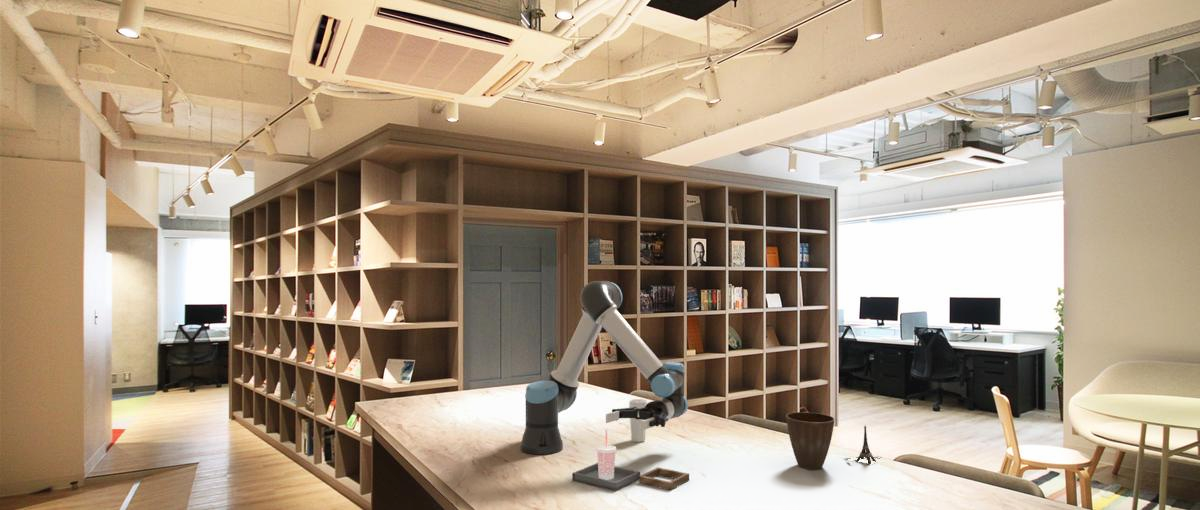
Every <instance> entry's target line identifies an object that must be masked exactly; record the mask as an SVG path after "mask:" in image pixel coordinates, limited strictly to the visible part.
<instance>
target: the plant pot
mask: <svg viewBox="0 0 1200 510" xmlns="http://www.w3.org/2000/svg"><path fill="white" fill-rule="evenodd" d="M785 418H786V423H787V424H786V425H787V431H788V435H789V436H788V437H789V441H790V444H791V448H792V451H793V455H794V458H795V461H796V463H797V465H798V467H799V468H802V469H806V470H811V471H812V470H813V471H814V470H815V471H816V470H821V469H822V468H823V466H824V463H825V461H826V459H827V456H828V453H829V450H830V446H831V441H832V438H833V437H832V436H833V431H834V427H835V426H834V424H835V418H834V416H831V415H828V414H824V413H818V412H809V411H807V412H806V411H803V412H802V411H798V412H797V411H795V412H789V413H787V414H785Z"/></svg>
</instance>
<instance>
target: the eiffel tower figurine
mask: <svg viewBox="0 0 1200 510" xmlns="http://www.w3.org/2000/svg"><path fill="white" fill-rule="evenodd" d="M863 429H864V432H863V445H862V448H861V451H860V452H859V456H855V457H856V458H858V459H857V460H856V462H855V463H858V461H859V460H860V458H861V459H866V460H868V464H871V460H872V461H875V462H876V461H877V460H881V459H880V458H883V457H881V456H873V454H872V452H871V450H870V448H869V447H870V446H869V444H868V438H867V437H868V436H867V426H866V425H864V426H863ZM864 457H865V458H864ZM870 457H871V458H870ZM878 457H880V458H878ZM845 458H846V459H845ZM845 458H844V459H845V460H844V461H846V460H848V459H851V458H847V457H845ZM876 458H877V460H876ZM876 463H877V462H876ZM868 464H867V465H868Z"/></svg>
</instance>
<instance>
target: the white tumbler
mask: <svg viewBox="0 0 1200 510" xmlns="http://www.w3.org/2000/svg"><path fill="white" fill-rule="evenodd" d="M628 401H629V403H628V405H629V407H628V408H632V407H637V408H644V407H645V406H646V405H647V404H648V401H647V399H642V398H633V399H630V400H628ZM638 417H639V413H638ZM642 421H643V419H635V418H629V424H630V434H631V435H630V436H631V437H630V438H631V441H632V442H633V443H634V442H635V443H642V442H645V441H646V433H647V432H646V431H647V429H645V430H641V423H642Z"/></svg>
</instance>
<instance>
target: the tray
mask: <svg viewBox="0 0 1200 510" xmlns="http://www.w3.org/2000/svg"><path fill="white" fill-rule="evenodd" d="M571 476H572V478H571V480H572V482H576V483H581V484H584V485H589V486H593V487H597V488H601V489H605V490H609V491H614V492H617V491H620V490H621V489H624V488H625V487H628V486H630V485H631V484H634V483H636V482H639V476H641V471H638V470H633V469H629V468H624V467H618V466H614V478H613V479H610V480H605V479H601V478H599V474H598V462H596V463H594V464H591V465H589V466H587V467H584V468H581V469H580V470H579V469H578V470H576V471H574V472H572V475H571Z"/></svg>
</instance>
